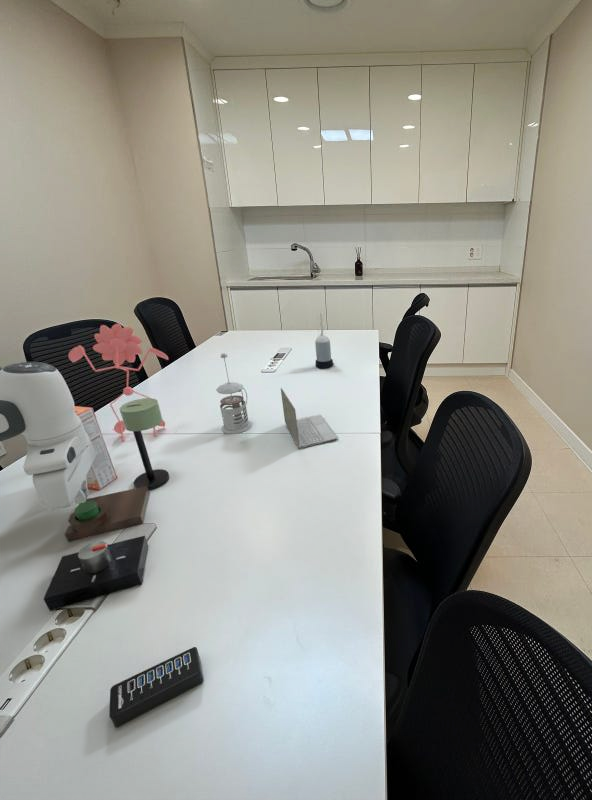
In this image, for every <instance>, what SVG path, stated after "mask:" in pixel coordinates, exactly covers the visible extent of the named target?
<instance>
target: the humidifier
mask: <svg viewBox="0 0 592 800" xmlns="http://www.w3.org/2000/svg"><path fill="white" fill-rule="evenodd" d="M316 317H317V321H318V320H320V322H319V326H320V329H318V330H317V332H318V334H319V335H318V336H317V337H316V338H315V340H314V341H315V342H314V344H315V345H314V346H315V355H316V359H315V368H316V369H319V370H327V369H331V368H333V367H334V364H335V363H334V361H333V359H332V351H331V339H330V338H329V337H328V336H326V335H325V334H324V326H323V313H322V311H321V312H319V316H316ZM318 317H319V318H320V319H319V318H318ZM319 332H320V333H319Z"/></svg>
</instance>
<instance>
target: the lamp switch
mask: <svg viewBox="0 0 592 800" xmlns="http://www.w3.org/2000/svg"><path fill="white" fill-rule="evenodd" d="M74 512H75V515H76V517H77V519H78V520H79V521H84V520H88V519H90V518H92V517H95V516H96V515H97V514H98V513H99V508H98V505H97V503H96V502H95V501H88V502H85V503H82V504H80V505H79V504H77V506H76V507H75V508H74V510H73V513H74Z"/></svg>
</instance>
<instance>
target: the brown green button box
mask: <svg viewBox="0 0 592 800" xmlns="http://www.w3.org/2000/svg"><path fill="white" fill-rule="evenodd" d="M150 494H151V492H150V491H149V488H148V486H145V487H140V488H135V487H134V488H131V489H127V490H122V491H117V492H112V493H108V494H103V495H99V496H94V497H89V498H87V499H86V501H85V502H88V501H95V502H96V503H97V505H98V508H99V513H98V514H97V515H96V516H95V517H92V518H90V519H88V520H84V521H79V520H78V519H77V517H76V515H75V512H74V511H73V513H71V514H70V515H69V518H68V519H67V523H68V527H67V528H66V531H65V533H64V537H65V538H66V541H67V542H68V543H70V542H74V541H78V540H83V539H86V538H90V537H94V536H95V537H96V536H98V535H103V534H108V533H111V532H115V531H119V530H124V529H127V528H132V527H135V526H140V525H144V522H145V519H146V518H145V517H146V512H147V508H148V504H149V498H150ZM85 502H84V503H85ZM80 504H82V503H80ZM80 504H78V505H80Z"/></svg>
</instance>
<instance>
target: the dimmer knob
mask: <svg viewBox="0 0 592 800" xmlns="http://www.w3.org/2000/svg"><path fill="white" fill-rule="evenodd" d="M108 545H109V544H108V543H107V542H106V541H104V540H96V541H92V542H90V543H88V544H86V545H85V546H83V547H82V548H80V550H79V551H78V552H79V553H78V552H77V553H78V557H79V560H80V562H81V564H82V566H83V569H84V571H85V572H86V573H89V574H92V573H97V572H99V571H102V570H103V569H105V568H106V567H108V566H109V565H110V563H111V562H112V556H111V553H110V550H109V548H108Z"/></svg>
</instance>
